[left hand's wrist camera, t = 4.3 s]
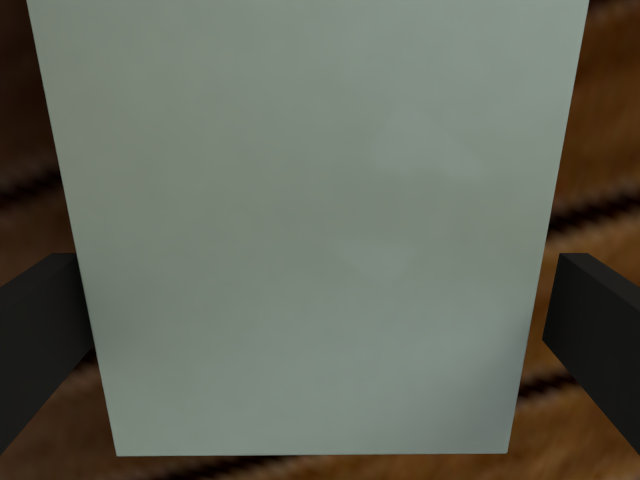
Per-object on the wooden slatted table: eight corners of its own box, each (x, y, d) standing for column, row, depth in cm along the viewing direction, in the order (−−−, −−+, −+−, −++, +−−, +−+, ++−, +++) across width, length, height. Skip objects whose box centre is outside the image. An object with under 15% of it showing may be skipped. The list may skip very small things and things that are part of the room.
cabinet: (125, -324, 13) (-161, -935, 5) (494, -321, 14) (756, -917, 5) (193, 311, 21) (116, 457, 13) (433, 310, 21) (507, 454, 13)
